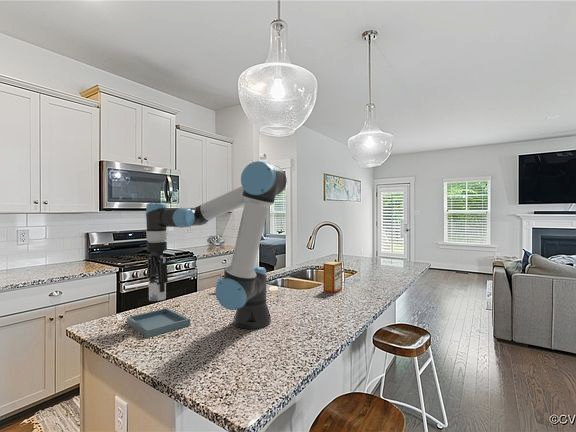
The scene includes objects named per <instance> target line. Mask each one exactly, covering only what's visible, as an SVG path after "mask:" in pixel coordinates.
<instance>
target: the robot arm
mask: <svg viewBox="0 0 576 432" xmlns="http://www.w3.org/2000/svg"><path fill="white" fill-rule="evenodd" d="M287 180H288V179H287V175H286V172H285V171H284V170H283V169H282V168H281V167H279V166H277V165H274V164H272V163H270V162H267V161H263V160H262V161H259V160H258V161H252V162H250V163H249V164H247V165H246V166H245V167H244V169H243V170H242V173H241V175H240V184H241V186H239V187H237V188H235V189H233V190H230V191H228V192H227V193H224V194H222V195H219V196H217V197H215V198H213V199H211V200H209V201H206V202H204V203H202V204H200V205H197V206H195V207H167V204H166V203H164V202H163V203H162V202H160V203H156V202H155V203H153V202H151V203H147V204H146V209H145V210H146V211H145V218H146V219H145V220H146V233H145V234H146V236H145V237H146V241H147V242H146V252H149V253H150V254H147V256H146V258H147V273H146V274H147V276H146V277H147V279H149V282H150V281H154V280H158V283H157V295H158V301H157V302H159V300H161V301H164V300H166V299H165V283H166V284H167V283H168V281H169V280H168V277H169V276H168V275H169V274H168V257H165V255H164V252H166V251H167V249H168V246H167V241H166V240H167V239H168V238H167V235H168V232H167V230H168V229H167V228H180V229H181V228H189V227H193V226H194V227H195V226H203V225H206V224H208V223H209V221H211V220H213V219H215V218H218V217H220V216H223V215H225V214H227V213H229V212H233V211H234V210H237V209H239V208H241V207H243V210H242V214H241V218H240V222H239V227H238V231H237V234H236V235H237V236H236V240H235V244H234V250H233V253H232V257H231V260H230V261H231V262H230V265H228V266H227V267H225V270H224V273H223V277H222V278H223V280H222V279H221V281H219V283H218V284H217V283H216V285H217V286H215V290H214V292H215V298H216V300H217V302H218V304H219V305H220V306H221V307H223V308H224V309H225V310H230V311H235V314H234V316H233V325H234V326H235V327H237V328H240V329H246V330H255V329H262V328H265V327H267V326H269V325H270V324H271V322H272V316H271V314H270V310H269V307H268V304H267V277H268V276H267V270H266V268H265V267H261V266H256V261H257V257H258V253H259V250H260V249H259V248H260V245H261V241H262V237H263V236H262V235H263V232H264V227H265V223H266V219H267V215H268V210H269V207H270V206H272V205H274V203H275V200H276V196H277V195H279V194H281V193H283V191H284V190H285V188H286V185H287V183H288V181H287Z"/></svg>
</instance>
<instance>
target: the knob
mask: <svg viewBox="0 0 576 432" xmlns="http://www.w3.org/2000/svg"><path fill="white" fill-rule="evenodd" d="M157 283H158V279H157V280H154V281H150V280H149V281H148V300H149V301H150V302H159V301H162V300H159V301H158V295H157ZM166 290H167V282H166V283H165V299H164V300H166V298H167V291H166Z"/></svg>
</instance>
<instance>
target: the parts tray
mask: <svg viewBox="0 0 576 432" xmlns="http://www.w3.org/2000/svg"><path fill="white" fill-rule="evenodd" d="M126 324H127V325H129V327H132V328H133V329H134V330H136V331H137V332H139V333H140V334H141V335H142V336H145V337H146V338H147V339H149V338H150V337H155V336H158V335H162V334H166V333H168V331H169V332H172V330H173V331H176V330H179V329H183V328H186V327H190V326H191V318H189V317H187V316H185V315H183V314H181V313H179V312H176V311H175V310H172V309H170V308H169V307H165V308H161V309H155V310H153V311H147V312H143V313H140V314H135V315H130V316H126ZM165 332H166V333H165Z"/></svg>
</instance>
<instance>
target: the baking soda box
mask: <svg viewBox="0 0 576 432" xmlns="http://www.w3.org/2000/svg"><path fill="white" fill-rule="evenodd" d="M322 268H323V270H322V271H323V292H325V293H331V294H335V293H337V292H340V291H342V290H343V262H341V261H327V262H324V263H323V267H322Z"/></svg>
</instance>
